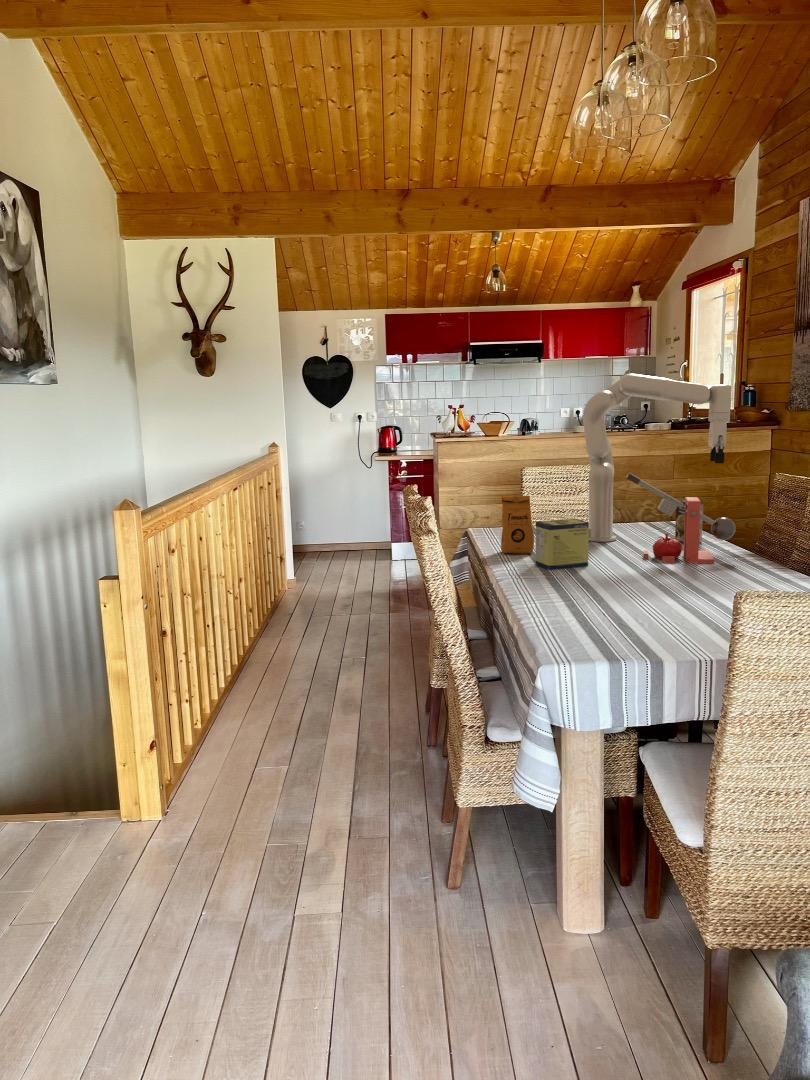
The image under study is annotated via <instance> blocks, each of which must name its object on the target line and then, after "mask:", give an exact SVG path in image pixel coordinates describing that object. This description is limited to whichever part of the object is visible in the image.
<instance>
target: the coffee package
mask: <svg viewBox="0 0 810 1080" xmlns="http://www.w3.org/2000/svg"><path fill="white" fill-rule="evenodd" d="M501 503H502V504H501V505H502V508H501V509H502V511H501V516H502V517H501V525H502V531H501V537H500V538H501V539H500V550H501V552H502V553H504V554H511V555H516V554H517V555H519V554H520V555H525V554H530V555H531V554H533V550H534V548H535V535H534V529H533V523H532V522H533V520H532V511H531V510H532V509H531V497H530V495H517V496H516V495H502V496H501Z"/></svg>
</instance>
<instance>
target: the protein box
mask: <svg viewBox="0 0 810 1080" xmlns="http://www.w3.org/2000/svg"><path fill="white" fill-rule="evenodd" d="M588 534H589V521H584V520H581V519H577V518H564V519H563V518H562V519H553V520H550V519H549V520H541V521H540V520H539V521H535V565H536V566H538V567H541V568H544V569H546V570H548V571H549V570H550V571H552V570H561V569H571V568H583V567H584V568H585V567H588V566H589V541H588Z"/></svg>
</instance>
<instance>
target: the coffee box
mask: <svg viewBox="0 0 810 1080" xmlns="http://www.w3.org/2000/svg"><path fill="white" fill-rule="evenodd" d="M677 500H678V499H677ZM678 501H680V502H682V503H683V506H682V508H680V507H677V508H676V510H675V526H674V527H675V530H674V531H675V533H674V538H676V539H674V540H677V539H678V541H679V542H682V543H684V526H685V499H679V500H678ZM700 513H702V514H703V515H704V501H703V502H702V501H700ZM703 522H704V521H703V520H702V519H700V525H699V543H702V540H703V539H702V536H703Z"/></svg>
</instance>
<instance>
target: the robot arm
mask: <svg viewBox="0 0 810 1080" xmlns="http://www.w3.org/2000/svg"><path fill="white" fill-rule="evenodd" d="M632 397H636V398H644V399H650V400H656V401H657V400H658V401H664V402H665V401H666V402H667V401H669V402H670V401H671V402H678V403H679V402H680V403H686V404H693V405H703V404H708V422H710V423H709V430H708V432H709V433H708V441H707V442H708V443H707V444H708V447H710V455H709V461H710V462H714V463H715V464H724V463H725V447H726V444H727V427H728V426H727V423H728V422H730V420H731V418H730V417H731V416H730V415H731V413H730V412H731V400H732V399H731V397H732V387H731V385H730V384H713V385H704V384H701V383H693V382H688V381H681V380H674V379H670V378H666V377H659V376H651V375H645V374H639V373H638V374H637V373H626V374H624V375H623V376H622V377H621V378H620V379H619V380H617V381H616V382H615V383H613V384H612V385H610V386H608V387H607V388H605V389H603V390H601V391H598V392H596V393H595V394H593V396H591V397H590V398H589V400H587V402H586V404H585V405H584V407H583V413H582V422H583V431H584V432H583V433H584V439H585V450H586V454H587V455H588V461H589V471H588V522H589V534H588V542H595V543H596V542H601V543H604V542H614V541H616V540H617V536H616V535H613V534H614V533H613V530H614V529H613V526H614V525H613V523H614V522H613V520H614V518H613V517H614V513H613V512H614V476H615V465H614V459H613V457H614V456H613V452H612V444H611V441H610V439H609V437H608V435H607V429H606V428H607V426H606V419H605V417H606V413H608V412H609V411H612V410H614V409H615V408H616V407H619V406H620V405H621V404H623V403H625V402H626V401H627V400H629V399H630V398H632Z"/></svg>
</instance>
